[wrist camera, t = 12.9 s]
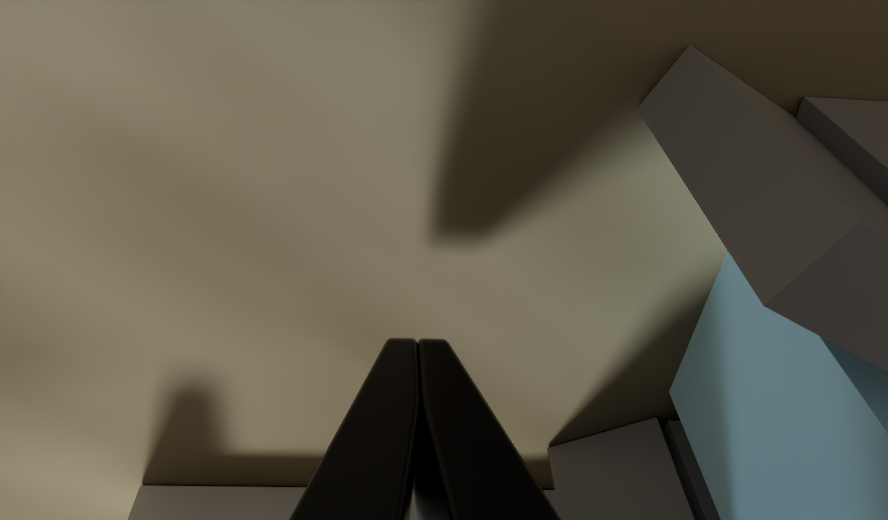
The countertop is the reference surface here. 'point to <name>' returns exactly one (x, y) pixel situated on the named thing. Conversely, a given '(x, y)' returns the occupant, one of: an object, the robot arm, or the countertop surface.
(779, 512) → the light blue block
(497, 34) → the countertop surface
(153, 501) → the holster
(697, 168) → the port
